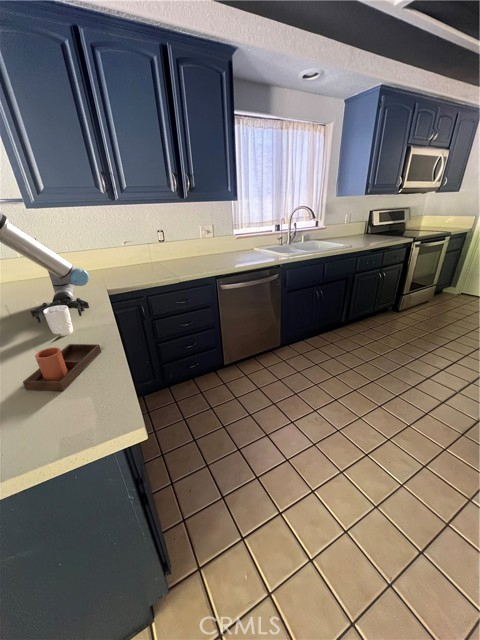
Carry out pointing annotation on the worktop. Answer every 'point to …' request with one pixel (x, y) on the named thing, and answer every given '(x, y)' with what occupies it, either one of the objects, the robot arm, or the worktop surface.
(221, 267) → the worktop surface
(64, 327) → the white cup
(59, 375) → the terracotta cup
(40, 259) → the robot arm
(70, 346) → the tray
